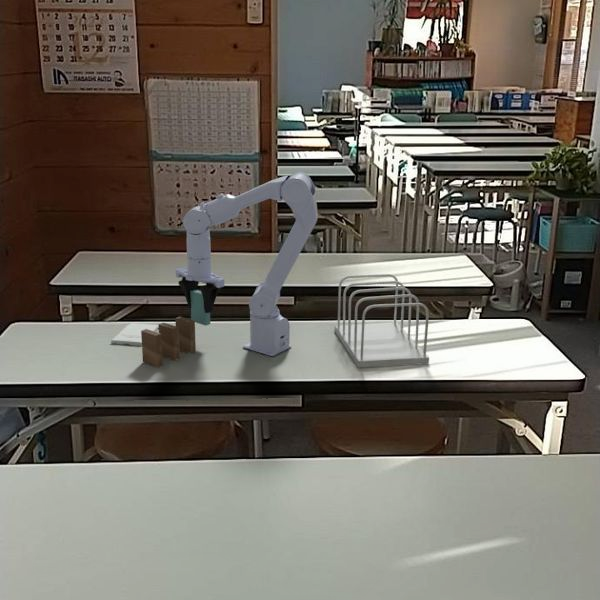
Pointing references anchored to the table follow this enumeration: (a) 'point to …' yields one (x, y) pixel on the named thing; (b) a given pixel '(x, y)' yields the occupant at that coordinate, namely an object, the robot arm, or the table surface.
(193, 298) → the domino
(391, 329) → the file sorter
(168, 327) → the domino
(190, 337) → the domino
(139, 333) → the external hard drive
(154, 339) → the domino
